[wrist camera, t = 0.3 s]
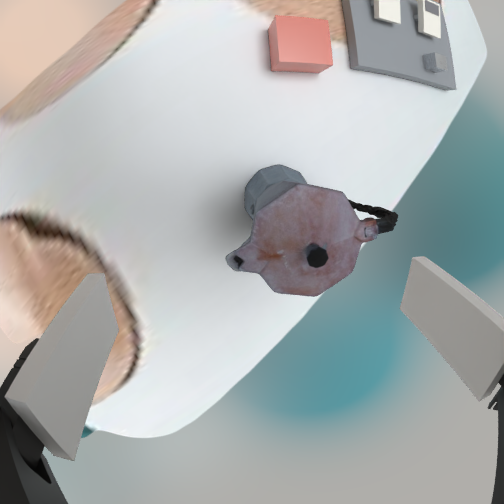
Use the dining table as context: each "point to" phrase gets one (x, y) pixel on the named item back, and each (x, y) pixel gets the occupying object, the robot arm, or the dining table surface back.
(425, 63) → the post
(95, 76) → the dining table surface
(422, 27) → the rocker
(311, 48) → the cap
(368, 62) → the panel
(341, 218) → the moka pot
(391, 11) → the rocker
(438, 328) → the robot arm
